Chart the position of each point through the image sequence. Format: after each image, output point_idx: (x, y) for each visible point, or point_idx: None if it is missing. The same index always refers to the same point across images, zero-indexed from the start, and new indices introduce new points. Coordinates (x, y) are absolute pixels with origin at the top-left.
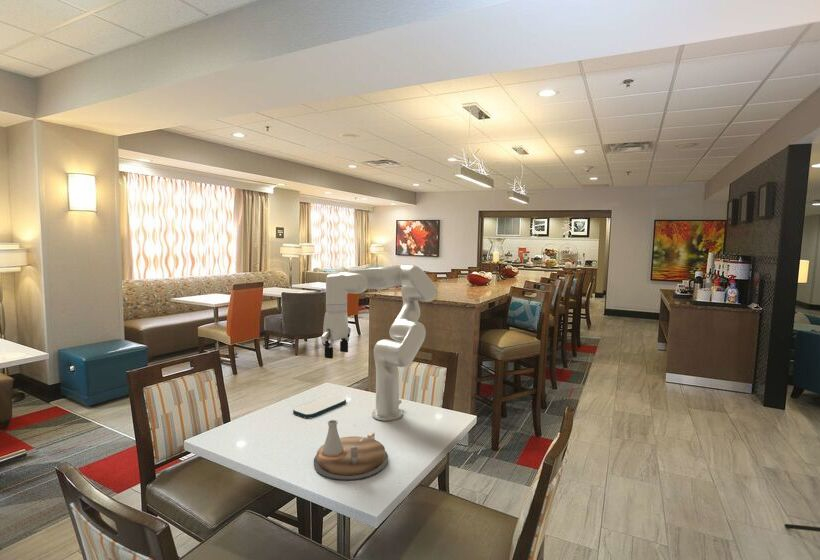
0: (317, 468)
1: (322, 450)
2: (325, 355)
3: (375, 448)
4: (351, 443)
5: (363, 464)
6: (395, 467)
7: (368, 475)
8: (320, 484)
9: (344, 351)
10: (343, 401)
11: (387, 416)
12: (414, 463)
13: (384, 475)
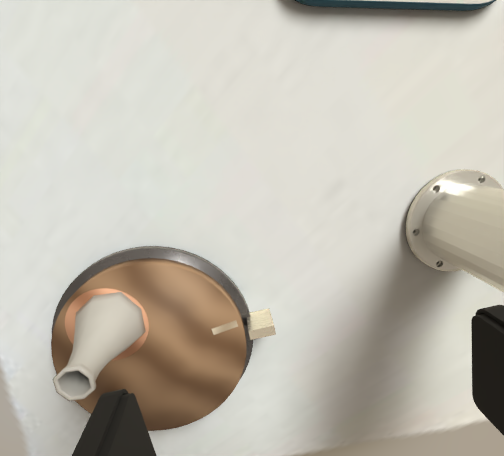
0: (56, 316)
1: (80, 312)
2: (96, 423)
3: (206, 387)
4: (186, 323)
5: None
6: (204, 424)
7: None
8: (30, 358)
9: (478, 377)
10: (477, 5)
11: (428, 247)
12: (245, 441)
13: None
